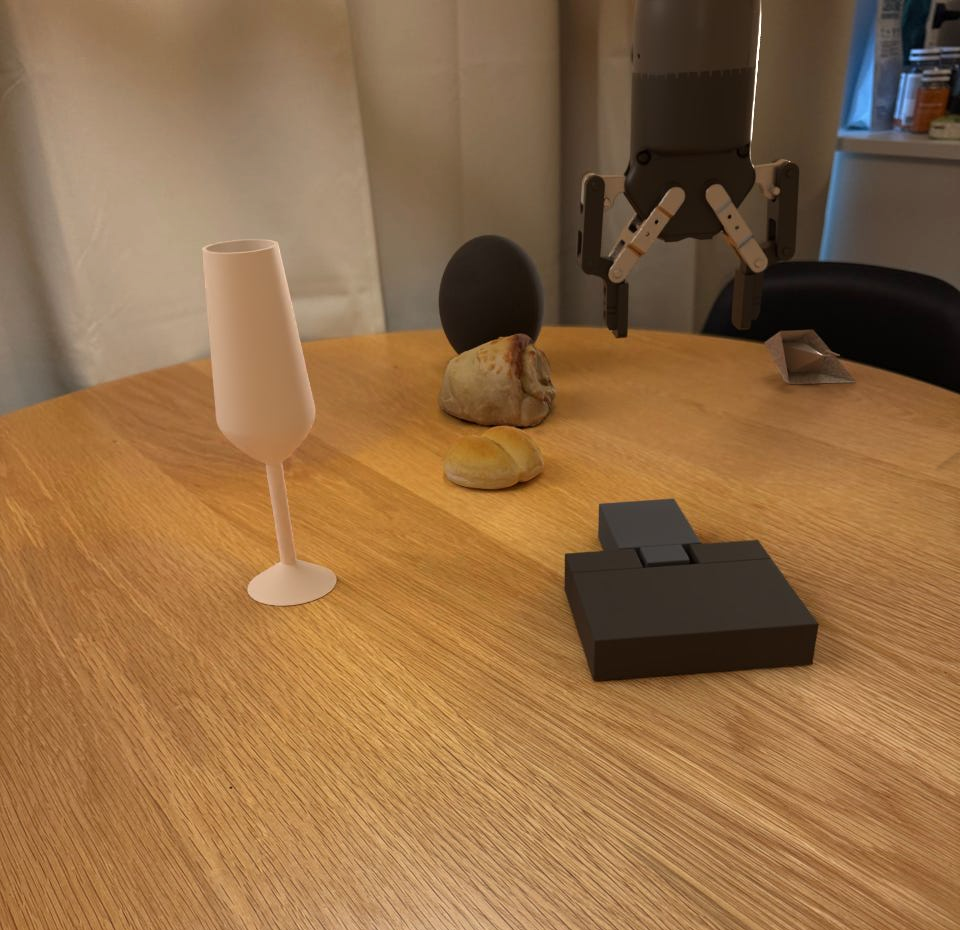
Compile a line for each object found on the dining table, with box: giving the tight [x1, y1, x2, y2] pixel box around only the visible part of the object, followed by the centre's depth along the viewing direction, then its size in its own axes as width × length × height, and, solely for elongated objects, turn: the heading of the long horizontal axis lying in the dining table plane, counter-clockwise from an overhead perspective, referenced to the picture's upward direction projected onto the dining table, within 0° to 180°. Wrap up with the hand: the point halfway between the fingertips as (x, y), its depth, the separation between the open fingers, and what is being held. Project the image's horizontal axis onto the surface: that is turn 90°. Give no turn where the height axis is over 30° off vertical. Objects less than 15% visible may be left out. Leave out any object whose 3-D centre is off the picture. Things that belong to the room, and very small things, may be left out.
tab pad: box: [597, 498, 702, 568], centre depth 75 cm, size 6×10×3 cm, turn 5°
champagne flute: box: [201, 238, 338, 607], centre depth 69 cm, size 7×7×24 cm
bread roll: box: [442, 425, 545, 490], centre depth 91 cm, size 8×9×4 cm
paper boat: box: [763, 329, 857, 385], centre depth 110 cm, size 12×6×9 cm
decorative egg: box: [438, 234, 546, 356], centre depth 117 cm, size 12×12×15 cm
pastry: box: [438, 334, 558, 428], centre depth 106 cm, size 14×12×8 cm
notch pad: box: [564, 539, 820, 682], centre depth 67 cm, size 14×12×3 cm
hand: (680, 331), depth 70 cm, fingers open, 8 cm apart
